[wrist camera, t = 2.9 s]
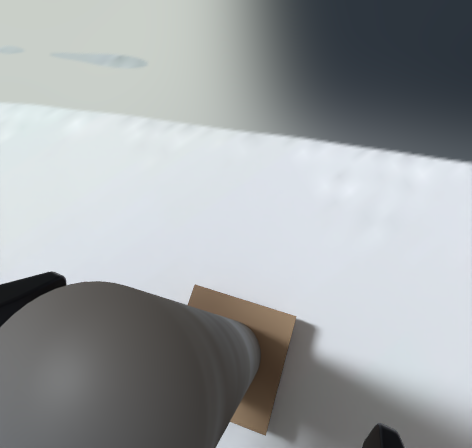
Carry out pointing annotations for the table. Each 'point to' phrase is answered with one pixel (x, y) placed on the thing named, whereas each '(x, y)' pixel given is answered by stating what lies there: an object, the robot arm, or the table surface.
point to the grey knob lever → (137, 368)
